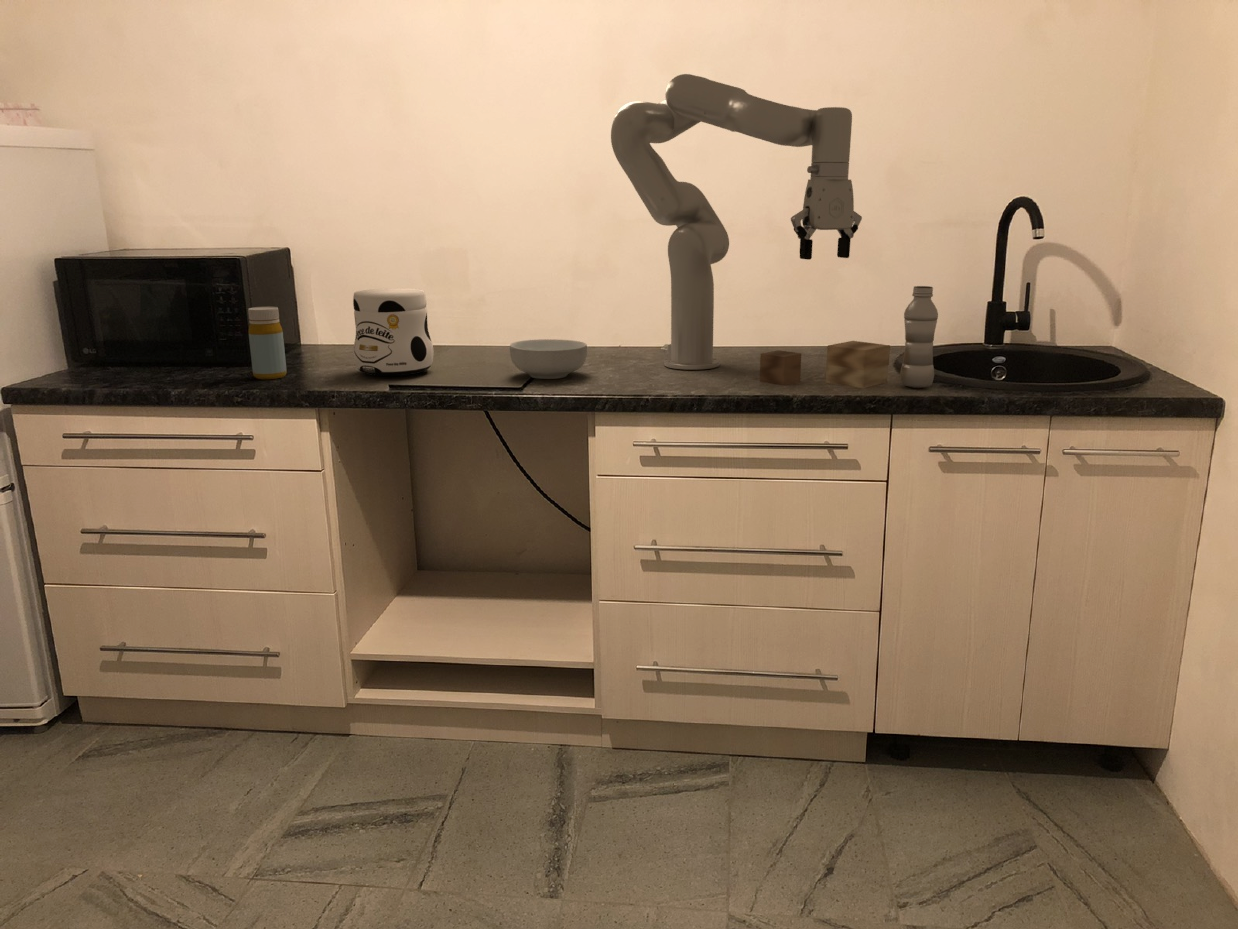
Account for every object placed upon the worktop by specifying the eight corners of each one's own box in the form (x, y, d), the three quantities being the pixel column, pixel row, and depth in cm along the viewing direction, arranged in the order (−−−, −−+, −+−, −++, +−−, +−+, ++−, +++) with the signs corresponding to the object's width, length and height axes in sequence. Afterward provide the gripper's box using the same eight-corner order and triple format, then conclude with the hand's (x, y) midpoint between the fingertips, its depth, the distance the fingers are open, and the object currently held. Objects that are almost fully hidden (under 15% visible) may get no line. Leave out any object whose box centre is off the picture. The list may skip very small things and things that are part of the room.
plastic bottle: (916, 391, 195) (923, 289, 189) (892, 386, 200) (898, 286, 195) (940, 388, 197) (948, 287, 192) (916, 383, 203) (923, 284, 198)
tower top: (826, 364, 204) (827, 345, 203) (851, 359, 210) (853, 340, 209) (864, 370, 198) (865, 350, 197) (888, 364, 204) (890, 345, 203)
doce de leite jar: (351, 382, 211) (343, 296, 206) (359, 368, 227) (352, 288, 222) (433, 379, 213) (428, 294, 208) (435, 365, 230) (431, 286, 225)
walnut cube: (759, 382, 206) (760, 353, 205) (776, 378, 211) (777, 350, 209) (783, 385, 202) (784, 356, 201) (800, 381, 206) (801, 353, 205)
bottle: (293, 374, 219) (286, 306, 215) (273, 380, 213) (265, 310, 209) (267, 373, 222) (260, 305, 218) (246, 378, 215) (238, 309, 211)
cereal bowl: (578, 384, 206) (577, 350, 204) (501, 382, 209) (499, 349, 207) (594, 369, 222) (594, 338, 220) (523, 368, 225) (521, 337, 223)
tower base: (825, 383, 205) (826, 364, 204) (849, 377, 211) (850, 359, 210) (863, 389, 199) (864, 370, 198) (887, 383, 205) (888, 364, 204)
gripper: (806, 171, 193) (801, 260, 198) (875, 172, 201) (869, 258, 205) (783, 172, 200) (779, 258, 204) (851, 172, 207) (845, 255, 212)
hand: (824, 258), depth 205 cm, fingers open, 9 cm apart
